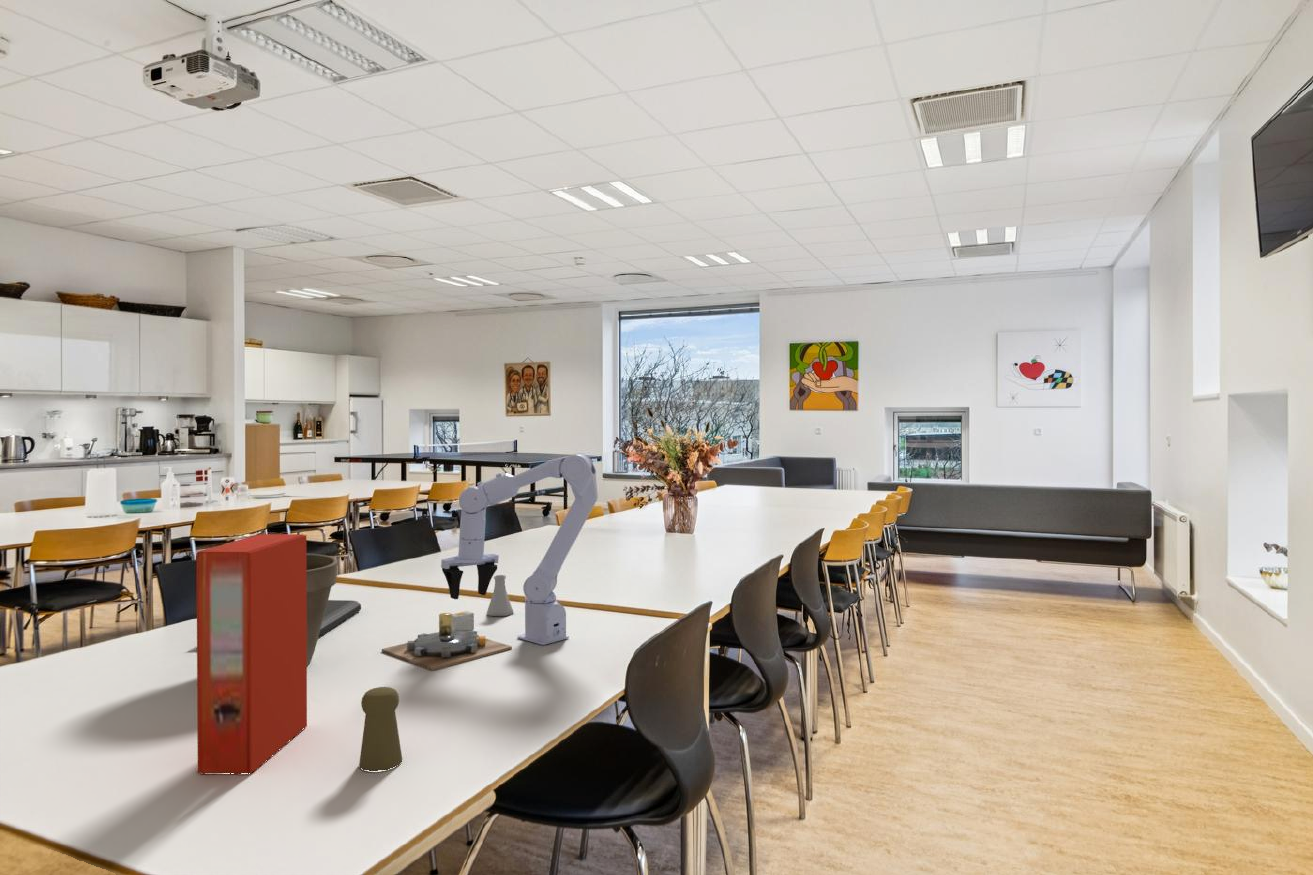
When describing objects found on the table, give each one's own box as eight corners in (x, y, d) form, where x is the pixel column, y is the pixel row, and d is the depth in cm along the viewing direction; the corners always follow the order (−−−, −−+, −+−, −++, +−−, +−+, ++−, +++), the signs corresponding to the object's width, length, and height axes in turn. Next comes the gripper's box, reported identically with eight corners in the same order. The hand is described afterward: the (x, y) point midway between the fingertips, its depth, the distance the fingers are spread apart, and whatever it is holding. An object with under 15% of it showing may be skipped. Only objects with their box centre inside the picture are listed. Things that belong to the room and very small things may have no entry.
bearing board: (511, 649, 173) (511, 646, 173) (432, 670, 158) (432, 667, 158) (459, 633, 186) (459, 630, 186) (381, 651, 171) (381, 648, 171)
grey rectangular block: (473, 629, 190) (473, 612, 190) (456, 633, 186) (456, 616, 186) (466, 627, 192) (466, 610, 192) (449, 631, 188) (448, 614, 188)
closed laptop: (270, 598, 208) (361, 599, 208) (270, 613, 208) (361, 614, 208) (198, 631, 175) (306, 632, 175) (198, 650, 175) (306, 651, 175)
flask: (517, 610, 208) (517, 573, 208) (509, 617, 201) (509, 578, 201) (490, 610, 209) (490, 573, 209) (482, 617, 202) (481, 578, 202)
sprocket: (501, 645, 173) (500, 618, 173) (435, 662, 160) (434, 634, 160) (457, 631, 184) (457, 607, 184) (392, 647, 172) (392, 620, 171)
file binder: (308, 727, 129) (306, 534, 128) (253, 774, 112) (250, 551, 111) (260, 727, 129) (257, 534, 128) (197, 774, 112) (194, 551, 111)
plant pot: (364, 660, 165) (363, 558, 165) (253, 695, 144) (251, 578, 144) (290, 643, 178) (289, 548, 178) (178, 673, 157) (177, 566, 156)
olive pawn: (407, 754, 118) (406, 682, 118) (395, 772, 112) (394, 696, 112) (367, 755, 118) (366, 682, 118) (352, 773, 112) (352, 696, 112)
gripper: (487, 533, 190) (483, 589, 190) (435, 537, 179) (431, 596, 180) (505, 538, 185) (501, 595, 186) (452, 542, 175) (448, 603, 175)
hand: (468, 596), depth 182 cm, fingers open, 7 cm apart
